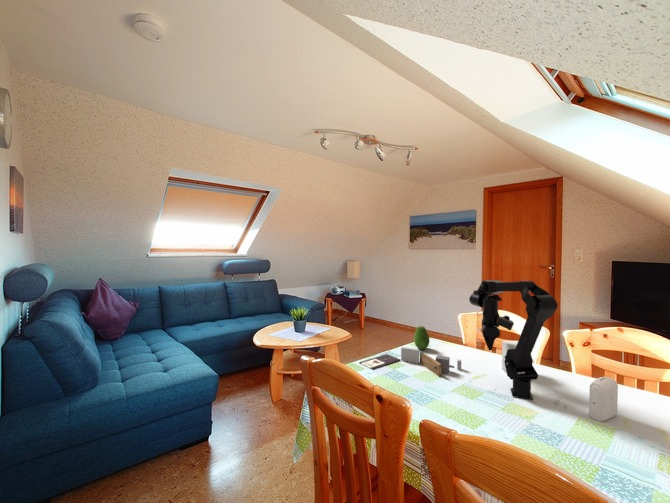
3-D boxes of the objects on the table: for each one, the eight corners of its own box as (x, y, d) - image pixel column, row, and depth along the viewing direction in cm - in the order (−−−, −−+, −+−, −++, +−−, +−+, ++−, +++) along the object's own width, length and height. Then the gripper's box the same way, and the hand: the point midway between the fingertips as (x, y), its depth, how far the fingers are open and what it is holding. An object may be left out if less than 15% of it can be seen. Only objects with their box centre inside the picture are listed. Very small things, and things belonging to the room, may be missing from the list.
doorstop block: (447, 374, 130) (447, 360, 130) (435, 371, 133) (435, 357, 133) (449, 370, 134) (449, 357, 134) (437, 368, 136) (437, 354, 136)
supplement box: (528, 376, 129) (528, 346, 128) (510, 375, 129) (511, 345, 128) (518, 368, 136) (518, 340, 136) (501, 368, 136) (501, 340, 136)
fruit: (411, 347, 164) (411, 324, 164) (423, 345, 166) (424, 323, 166) (419, 352, 156) (419, 328, 156) (432, 350, 159) (433, 327, 158)
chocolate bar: (400, 359, 145) (372, 368, 134) (400, 361, 145) (372, 370, 134) (386, 354, 152) (359, 362, 141) (386, 355, 152) (359, 364, 141)
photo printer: (602, 423, 95) (603, 383, 94) (586, 416, 98) (587, 378, 98) (619, 415, 99) (620, 377, 99) (603, 409, 103) (604, 372, 103)
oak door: (436, 376, 127) (436, 364, 127) (417, 362, 142) (417, 351, 142) (441, 375, 128) (441, 363, 128) (422, 362, 143) (422, 351, 143)
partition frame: (461, 370, 134) (461, 356, 134) (401, 360, 145) (401, 347, 145) (461, 368, 136) (461, 354, 136) (402, 358, 147) (402, 346, 147)
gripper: (515, 316, 117) (514, 357, 117) (510, 307, 134) (509, 343, 134) (482, 313, 121) (482, 352, 122) (481, 305, 138) (481, 339, 139)
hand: (489, 346), depth 129 cm, fingers open, 9 cm apart
